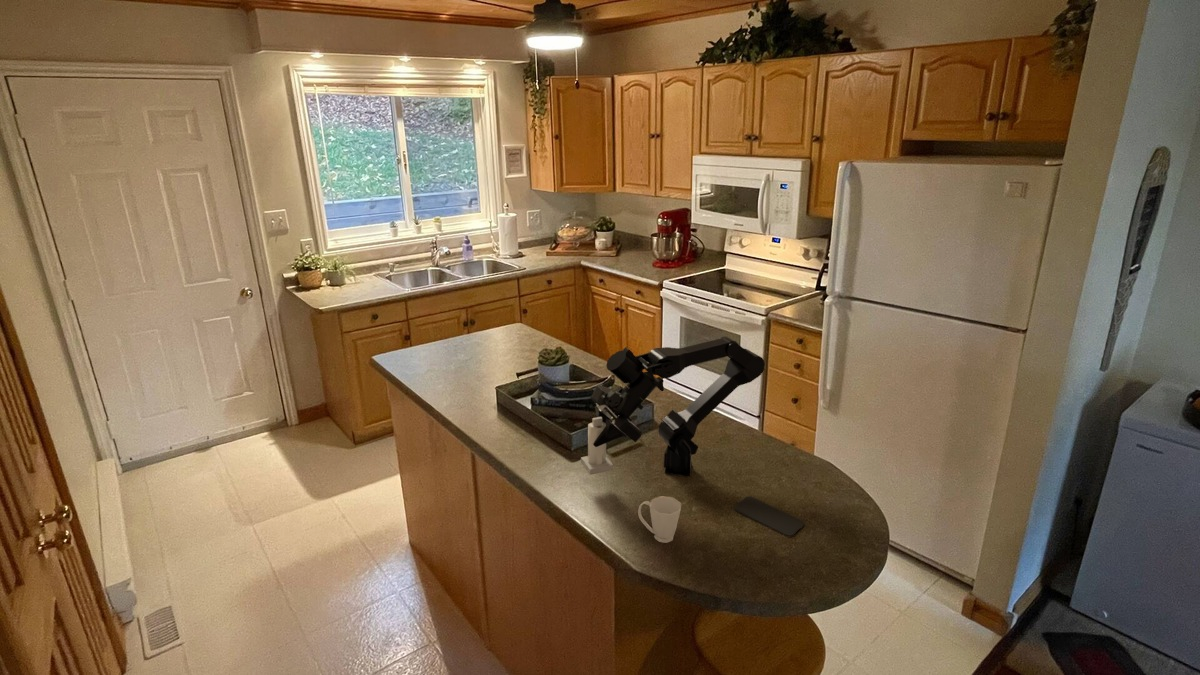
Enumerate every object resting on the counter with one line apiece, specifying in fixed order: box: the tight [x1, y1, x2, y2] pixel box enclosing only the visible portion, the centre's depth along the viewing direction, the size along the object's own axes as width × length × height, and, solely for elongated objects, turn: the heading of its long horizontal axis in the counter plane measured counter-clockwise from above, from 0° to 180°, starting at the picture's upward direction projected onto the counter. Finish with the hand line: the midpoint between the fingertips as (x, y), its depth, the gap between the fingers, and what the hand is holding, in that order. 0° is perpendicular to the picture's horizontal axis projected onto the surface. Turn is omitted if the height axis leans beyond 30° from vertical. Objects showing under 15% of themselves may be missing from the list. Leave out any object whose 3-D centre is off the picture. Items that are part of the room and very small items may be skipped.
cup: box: [637, 495, 682, 544], centre depth 137 cm, size 7×10×8 cm
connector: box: [580, 417, 614, 476], centre depth 151 cm, size 6×6×13 cm
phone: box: [733, 495, 806, 537], centre depth 144 cm, size 7×1×15 cm
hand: (591, 442), depth 151 cm, fingers closed on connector, 3 cm apart
